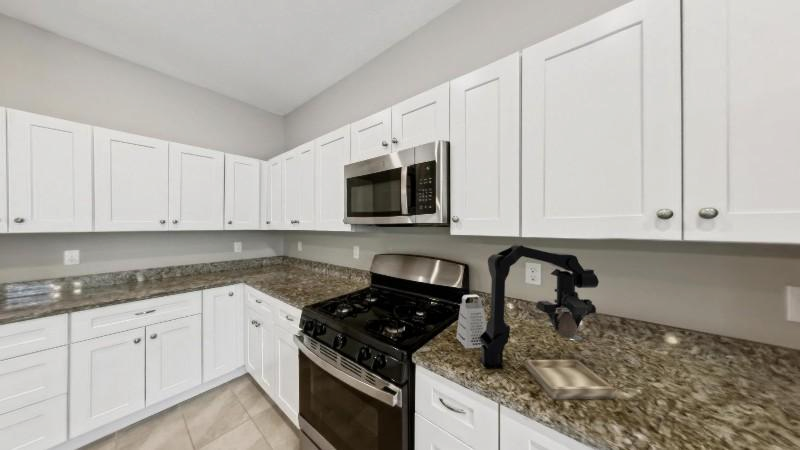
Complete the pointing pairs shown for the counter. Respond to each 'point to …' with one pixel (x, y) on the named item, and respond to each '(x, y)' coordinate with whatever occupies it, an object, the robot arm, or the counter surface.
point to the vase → (566, 325)
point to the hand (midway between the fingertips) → (565, 330)
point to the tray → (569, 380)
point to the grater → (471, 322)
